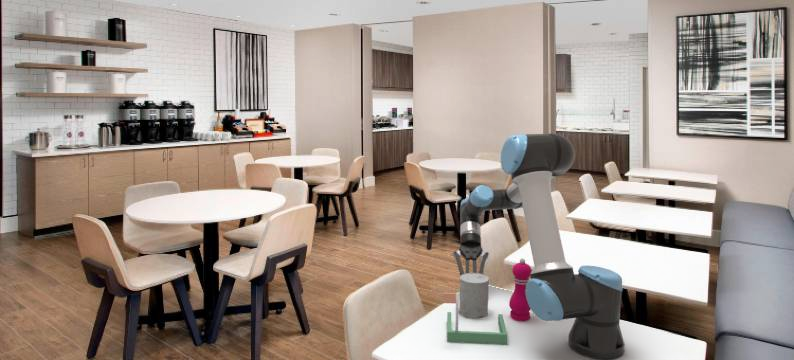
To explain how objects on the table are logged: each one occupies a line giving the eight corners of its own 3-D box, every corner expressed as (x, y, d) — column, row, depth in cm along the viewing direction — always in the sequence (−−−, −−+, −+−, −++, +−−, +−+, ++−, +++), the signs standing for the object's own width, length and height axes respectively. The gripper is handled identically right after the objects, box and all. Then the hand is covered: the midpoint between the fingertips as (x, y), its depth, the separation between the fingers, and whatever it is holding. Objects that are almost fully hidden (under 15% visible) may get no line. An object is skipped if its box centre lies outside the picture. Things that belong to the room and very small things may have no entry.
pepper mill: (507, 312, 171) (510, 254, 168) (529, 313, 170) (532, 255, 167) (509, 321, 164) (511, 261, 161) (532, 322, 163) (535, 262, 160)
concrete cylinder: (487, 320, 165) (488, 284, 163) (457, 317, 167) (458, 281, 165) (488, 308, 175) (489, 273, 172) (460, 306, 176) (460, 271, 174)
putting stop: (502, 323, 163) (503, 278, 161) (507, 344, 149) (509, 295, 147) (442, 320, 165) (443, 276, 162) (442, 341, 151) (443, 293, 149)
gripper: (487, 241, 193) (489, 301, 179) (452, 240, 194) (452, 299, 180) (489, 231, 187) (491, 292, 173) (453, 230, 188) (452, 291, 174)
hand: (471, 296), depth 177 cm, fingers closed
